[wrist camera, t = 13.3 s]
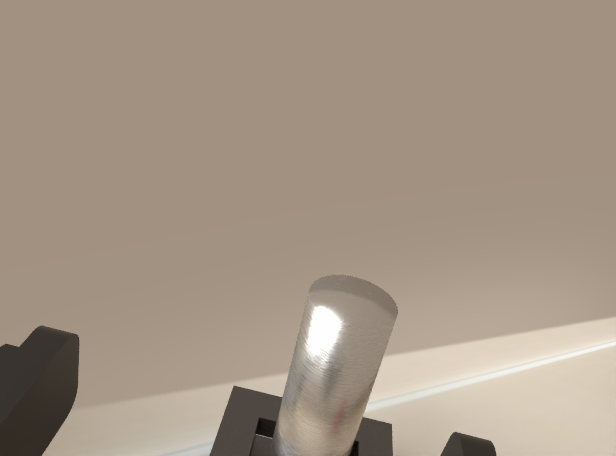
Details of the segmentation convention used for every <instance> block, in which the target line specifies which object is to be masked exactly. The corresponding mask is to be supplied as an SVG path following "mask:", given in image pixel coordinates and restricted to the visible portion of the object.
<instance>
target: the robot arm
mask: <svg viewBox="0 0 616 456" xmlns="http://www.w3.org/2000/svg"><path fill="white" fill-rule="evenodd" d="M78 363H79V337H78V335H77V334H73V333H69V332H65V331H61V330H57V329H53V328H49V327H45V326H39V327H38V328H36V329H35V330H34V331H33V332H32V333H31V334H30V336H29V337H28V338H27V339H26V340H25V341H24V342H23V343H22V344H21V346H20V347H16V346H12V345H9V344H5V345H3V346H1V347H0V456H42V454H43V453H44V451H45V450H46V448H47V447H48V445H49V444H50V442H51V441H52V439H53V438H54V436H55V435H56V433H57V432H58V430H59V429H60V427H61V425H62V424H63V422H64V421H65V419H66V418H67V416H68V414H69V413H70V410H71V408H72V406H73V403H74V401H75V397H76V394H77V388H78V365H79V364H78ZM441 456H496V451H495V448H494V445H493V443H492V442H491V441H489V440H485V439H481V438H477V437H473V436H469V435H465V434H461V433H457V432H454V433H453V434H452V435H451V436H450V438H449V440H448V442H447V444H446V446H445V448H444V450H443V452H442V454H441Z"/></svg>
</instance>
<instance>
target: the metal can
mask: <svg viewBox="0 0 616 456" xmlns="http://www.w3.org/2000/svg"><path fill="white" fill-rule="evenodd" d="M397 314H398V310H397V306H396V303H395V302H394V300H393V299H392V297H390V295H389V294H388V293H386V292H385V291H384V290H383V289H381V288H380V287H378V286H376V285H374V284H373V283H371V282H368V281H365V280H363V279H360V278H356V277H351V276H344V275H331V276H325V277H322V278H320V279H318V280H316V281H315V282H314V283H313V284H312V285H311V287H310V289H309V293H308V298H307V301H306V305H305V310H304V313H303V318H302V322H301V326H300V330H299V334H298V338H297V342H296V347H295V350H294V354H293V358H292V362H291V366H290V370H289V374H288V378H287V382H286V386H285V390H284V394H283V398H282V403H281V407H280V411H279V415H278V419H277V423H276V427H275V431H274V435H273V439H272V443H271V447H270V451H269V455H268V456H349V455H350V452H351V449H352V446H353V443H354V440H355V437H356V434H357V431H358V429H359V426H360V423H361V420H362V417H363V414H364V411H365V408H366V405H367V402H368V399H369V396H370V393H371V391H372V388H373V385H374V382H375V379H376V376H377V373H378V370H379V367H380V364H381V361H382V358H383V355H384V353H385V350H386V346H387V344H388V341H389V338H390V335H391V332H392V329H393V326H394V323H395V320H396V317H397Z"/></svg>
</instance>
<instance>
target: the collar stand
mask: <svg viewBox="0 0 616 456" xmlns="http://www.w3.org/2000/svg"><path fill="white" fill-rule="evenodd" d="M281 403H282V397H278V396H274V395H270V394H266V393H262V392H258V391H254V390H250V389H246V388H241V387H237V386H234V387H233V390H232V392H231V395H230V398H229V401H228V404H227V407H226V410H225V413H224V416H223V419H222V421H221V424H220V427H219V430H218V433H217V436H216V439H215V442H214V445H213V448H212V450H211V453H210V456H268V455H269V451H270V447H271V443H272V439H271V438H273V435H274V431H275V427H276V423H277V419H278V415H279V411H280V407H281ZM256 434H258V435H262V436H267V437H271V438H266V437H262V436H258V435H256ZM349 456H393V449H392V424H389V423H385V422H381V421H377V420H373V419H369V418H364V417H362V420H361V423H360V426H359V429H358V431H357V434H356V437H355V440H354V443H353V446H352V449H351V452H350V455H349Z"/></svg>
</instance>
